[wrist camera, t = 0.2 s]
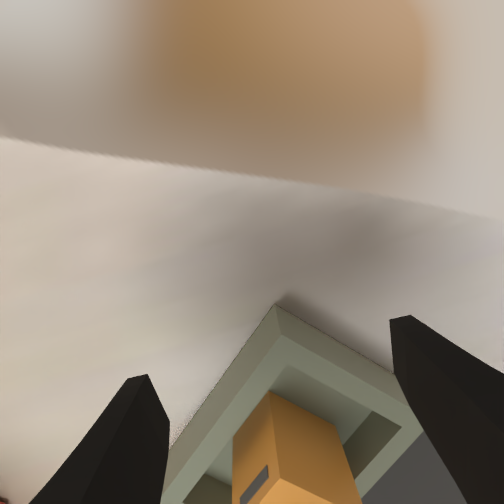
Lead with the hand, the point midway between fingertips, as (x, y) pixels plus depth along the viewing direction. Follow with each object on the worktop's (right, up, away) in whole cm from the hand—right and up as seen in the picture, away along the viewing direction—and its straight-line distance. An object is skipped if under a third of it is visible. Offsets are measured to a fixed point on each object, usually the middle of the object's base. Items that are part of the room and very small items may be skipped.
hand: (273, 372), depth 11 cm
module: (+1, -8, +12) cm, 14 cm away
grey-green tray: (+6, -10, +14) cm, 18 cm away
